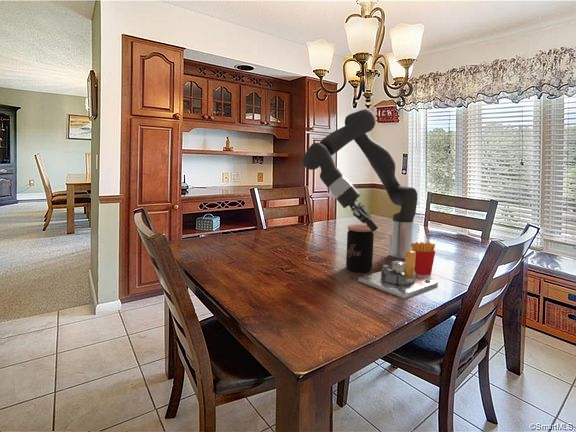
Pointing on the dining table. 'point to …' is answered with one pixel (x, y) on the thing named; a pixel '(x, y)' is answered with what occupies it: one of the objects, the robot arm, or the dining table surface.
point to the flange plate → (398, 289)
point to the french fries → (423, 257)
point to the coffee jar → (359, 248)
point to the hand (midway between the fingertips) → (375, 229)
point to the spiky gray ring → (403, 277)
